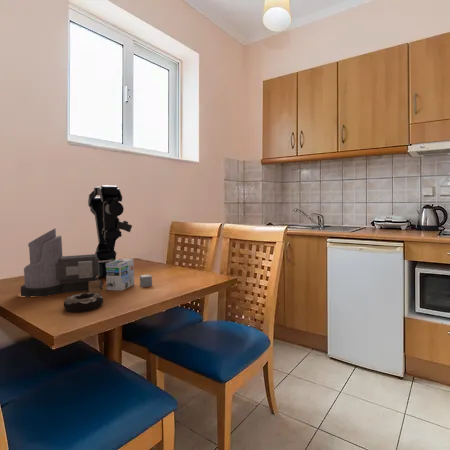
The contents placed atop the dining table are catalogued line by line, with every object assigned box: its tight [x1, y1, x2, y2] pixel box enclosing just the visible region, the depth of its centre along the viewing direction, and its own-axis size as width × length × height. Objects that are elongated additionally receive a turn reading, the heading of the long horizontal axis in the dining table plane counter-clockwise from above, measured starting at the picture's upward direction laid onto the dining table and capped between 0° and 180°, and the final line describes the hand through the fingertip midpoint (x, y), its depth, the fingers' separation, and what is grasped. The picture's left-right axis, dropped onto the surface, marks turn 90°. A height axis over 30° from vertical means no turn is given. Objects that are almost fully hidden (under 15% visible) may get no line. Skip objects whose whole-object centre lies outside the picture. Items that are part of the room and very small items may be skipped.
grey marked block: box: [139, 274, 153, 288], centre depth 130 cm, size 4×4×4 cm
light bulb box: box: [105, 258, 135, 292], centre depth 128 cm, size 11×7×11 cm, turn 169°
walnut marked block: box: [88, 279, 101, 294], centre depth 122 cm, size 4×4×4 cm
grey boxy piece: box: [20, 228, 103, 298], centre depth 126 cm, size 30×16×24 cm, turn 110°
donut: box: [63, 291, 104, 313], centre depth 103 cm, size 12×12×4 cm
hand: (112, 252), depth 136 cm, fingers closed
